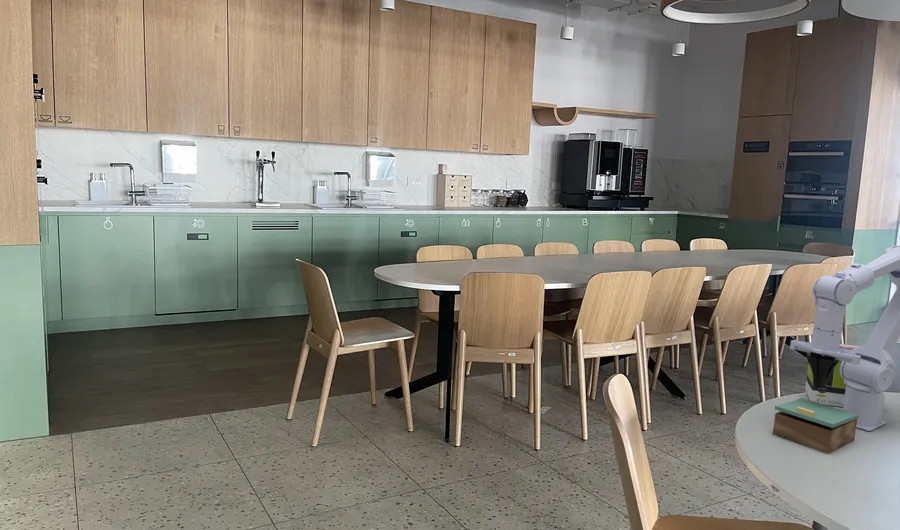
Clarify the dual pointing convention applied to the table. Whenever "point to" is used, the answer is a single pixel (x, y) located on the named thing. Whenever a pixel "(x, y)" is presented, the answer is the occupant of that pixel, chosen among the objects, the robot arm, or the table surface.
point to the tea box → (829, 384)
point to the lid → (817, 412)
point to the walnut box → (813, 432)
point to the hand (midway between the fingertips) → (819, 386)
